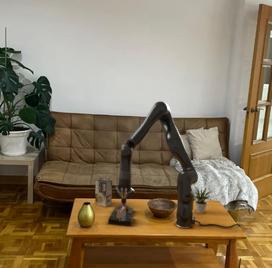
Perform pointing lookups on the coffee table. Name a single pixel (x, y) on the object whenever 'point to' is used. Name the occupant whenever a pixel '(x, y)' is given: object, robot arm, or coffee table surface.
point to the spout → (121, 212)
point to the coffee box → (103, 192)
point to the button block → (128, 209)
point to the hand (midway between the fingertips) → (123, 203)
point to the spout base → (121, 220)
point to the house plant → (201, 201)
